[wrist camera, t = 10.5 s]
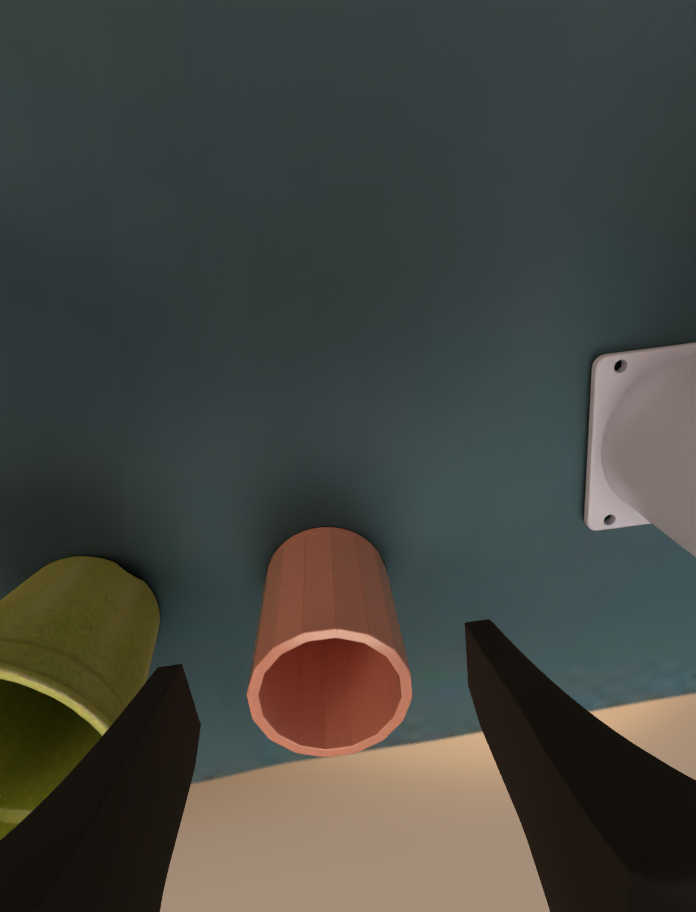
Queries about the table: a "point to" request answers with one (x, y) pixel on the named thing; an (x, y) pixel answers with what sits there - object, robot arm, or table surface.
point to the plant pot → (66, 671)
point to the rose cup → (328, 647)
